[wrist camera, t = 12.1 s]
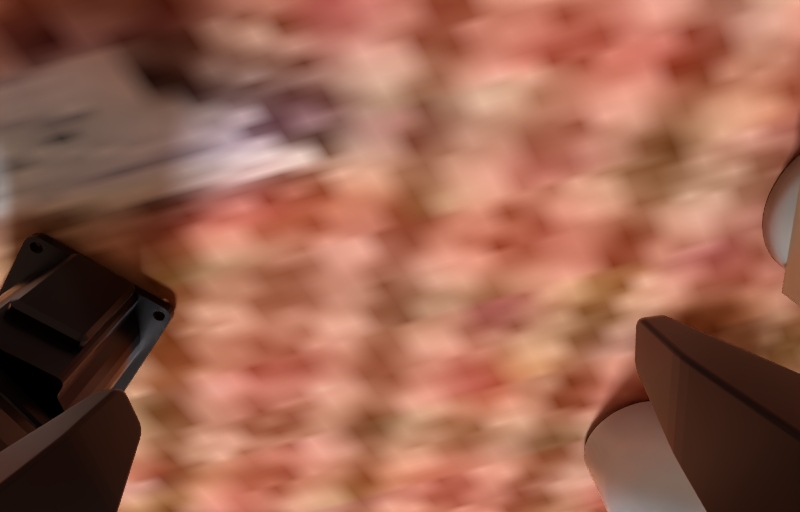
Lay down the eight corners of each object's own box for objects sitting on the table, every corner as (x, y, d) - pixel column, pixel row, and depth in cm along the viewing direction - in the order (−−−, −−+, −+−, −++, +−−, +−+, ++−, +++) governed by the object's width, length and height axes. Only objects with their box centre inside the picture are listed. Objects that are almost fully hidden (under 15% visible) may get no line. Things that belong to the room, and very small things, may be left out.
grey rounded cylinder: (670, 491, 29) (739, 606, 23) (567, 480, 28) (614, 596, 23) (722, 408, 26) (812, 516, 21) (610, 393, 25) (675, 501, 20)
